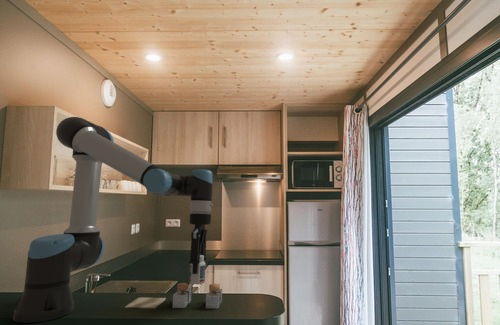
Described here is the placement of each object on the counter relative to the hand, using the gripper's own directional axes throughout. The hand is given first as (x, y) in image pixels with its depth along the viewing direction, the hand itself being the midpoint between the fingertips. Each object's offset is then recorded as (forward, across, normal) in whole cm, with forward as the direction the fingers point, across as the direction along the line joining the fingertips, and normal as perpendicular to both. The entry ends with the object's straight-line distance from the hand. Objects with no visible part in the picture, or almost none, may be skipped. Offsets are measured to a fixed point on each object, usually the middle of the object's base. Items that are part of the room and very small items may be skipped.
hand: (197, 281), depth 98 cm
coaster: (+8, 0, +17) cm, 19 cm away
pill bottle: (+1, 0, 0) cm, 1 cm away
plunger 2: (+6, 0, -6) cm, 9 cm away
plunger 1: (+6, 0, +5) cm, 8 cm away
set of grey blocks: (+7, 0, -1) cm, 7 cm away
